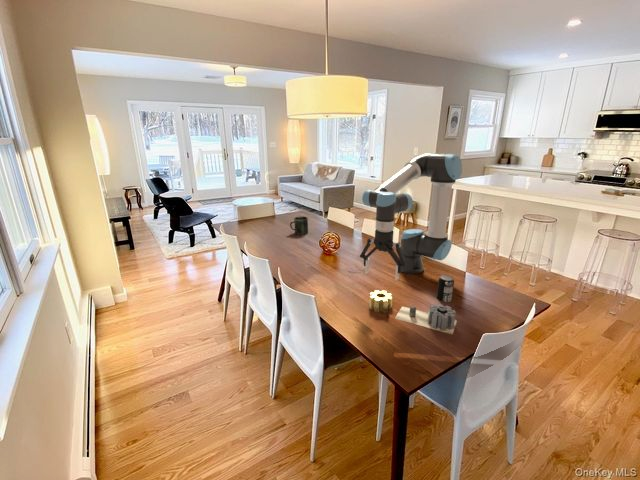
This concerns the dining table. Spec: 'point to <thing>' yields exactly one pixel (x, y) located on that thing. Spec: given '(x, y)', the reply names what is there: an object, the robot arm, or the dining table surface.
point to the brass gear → (380, 301)
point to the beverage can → (445, 288)
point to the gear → (441, 317)
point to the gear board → (418, 318)
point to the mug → (300, 225)
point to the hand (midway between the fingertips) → (381, 276)
